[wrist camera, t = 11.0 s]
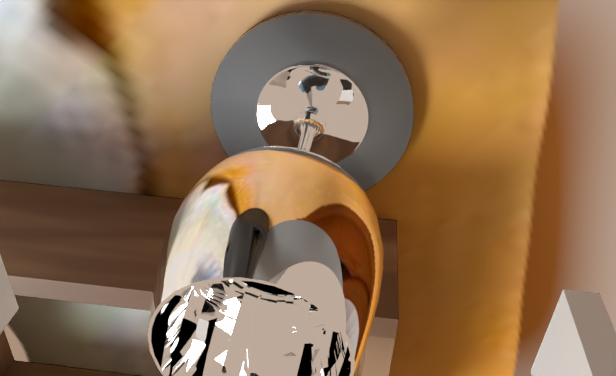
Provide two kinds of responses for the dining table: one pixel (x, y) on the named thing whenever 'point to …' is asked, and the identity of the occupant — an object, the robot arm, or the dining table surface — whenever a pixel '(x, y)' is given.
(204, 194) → the wineglass
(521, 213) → the dining table surface
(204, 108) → the dining table surface
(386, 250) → the rectangular wooden frame
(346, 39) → the coaster
